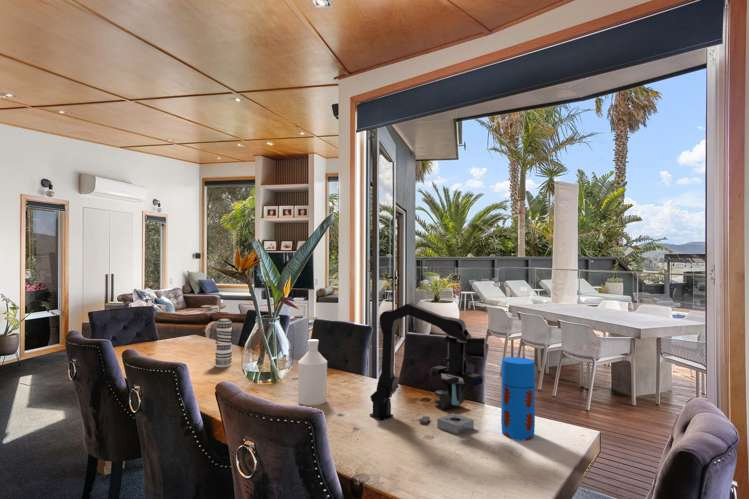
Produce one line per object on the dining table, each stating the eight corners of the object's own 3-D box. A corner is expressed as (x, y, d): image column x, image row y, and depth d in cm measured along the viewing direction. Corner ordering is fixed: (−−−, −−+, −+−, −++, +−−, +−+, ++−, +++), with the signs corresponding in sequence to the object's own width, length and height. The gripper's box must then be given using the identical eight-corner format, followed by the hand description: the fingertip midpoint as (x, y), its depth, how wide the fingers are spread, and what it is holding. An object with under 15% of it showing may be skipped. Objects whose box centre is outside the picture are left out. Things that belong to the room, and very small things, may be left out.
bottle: (307, 407, 179) (308, 344, 179) (292, 400, 188) (293, 339, 188) (332, 401, 186) (333, 340, 187) (316, 394, 195) (317, 336, 196)
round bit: (456, 405, 157) (456, 385, 157) (450, 404, 159) (450, 384, 159) (460, 404, 159) (460, 384, 159) (454, 402, 161) (454, 382, 161)
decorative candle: (211, 366, 243) (212, 320, 243) (219, 362, 252) (220, 317, 252) (227, 367, 241) (227, 320, 242) (235, 363, 250) (236, 318, 251)
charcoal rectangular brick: (426, 425, 162) (426, 421, 162) (420, 424, 163) (420, 420, 163) (429, 421, 166) (429, 416, 166) (423, 420, 167) (423, 416, 167)
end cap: (446, 412, 176) (446, 394, 176) (433, 407, 181) (433, 390, 182) (464, 407, 181) (464, 390, 182) (451, 402, 187) (451, 386, 187)
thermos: (517, 442, 147) (518, 365, 147) (494, 431, 156) (495, 358, 157) (541, 437, 152) (542, 362, 152) (517, 426, 161) (518, 355, 162)
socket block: (458, 435, 152) (458, 426, 153) (437, 427, 159) (437, 418, 159) (473, 428, 159) (473, 419, 159) (452, 421, 165) (452, 413, 165)
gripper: (491, 356, 158) (491, 401, 158) (448, 348, 172) (448, 389, 171) (473, 361, 150) (472, 408, 150) (429, 352, 164) (429, 395, 164)
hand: (455, 399), depth 159 cm, fingers closed on round bit, 3 cm apart
